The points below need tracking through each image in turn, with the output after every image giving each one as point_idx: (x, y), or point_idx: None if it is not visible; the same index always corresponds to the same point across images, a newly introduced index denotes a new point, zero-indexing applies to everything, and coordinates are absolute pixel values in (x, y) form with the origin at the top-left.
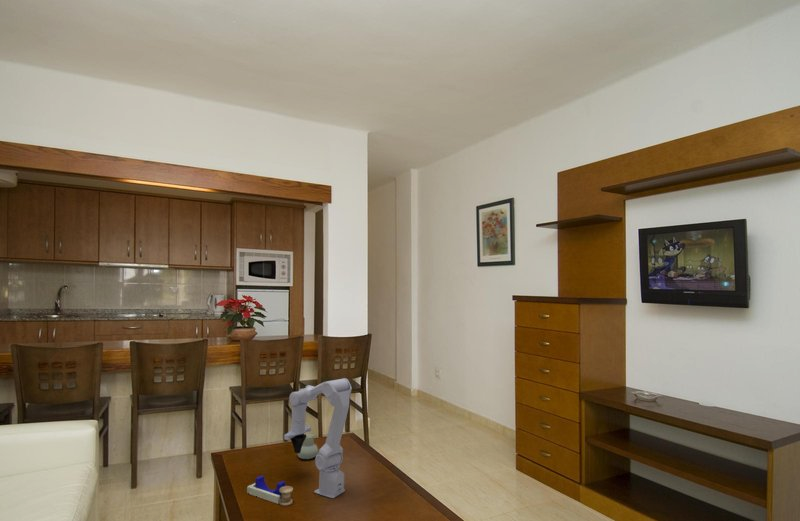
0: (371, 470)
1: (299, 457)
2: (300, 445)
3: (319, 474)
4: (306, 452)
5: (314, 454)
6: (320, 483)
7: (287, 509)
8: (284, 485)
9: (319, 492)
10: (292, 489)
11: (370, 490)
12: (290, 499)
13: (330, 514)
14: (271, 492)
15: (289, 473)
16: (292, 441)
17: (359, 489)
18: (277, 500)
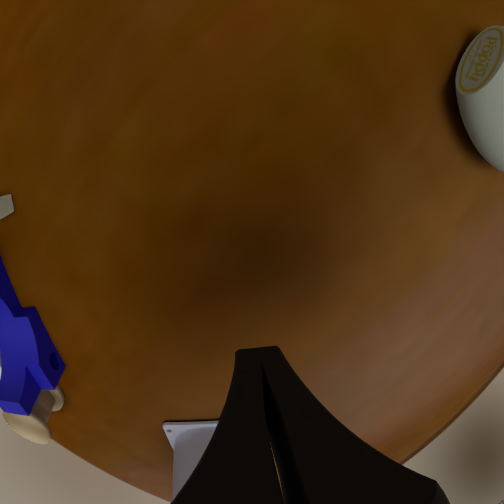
0: (434, 408)
1: (456, 75)
2: (278, 467)
3: (177, 491)
4: (489, 136)
5: (499, 170)
6: (173, 470)
7: None
8: (30, 404)
9: (174, 438)
10: (45, 443)
11: None
12: (56, 401)
13: (124, 481)
14: (5, 327)
15: (247, 170)
16: (195, 489)
17: None
18: None
